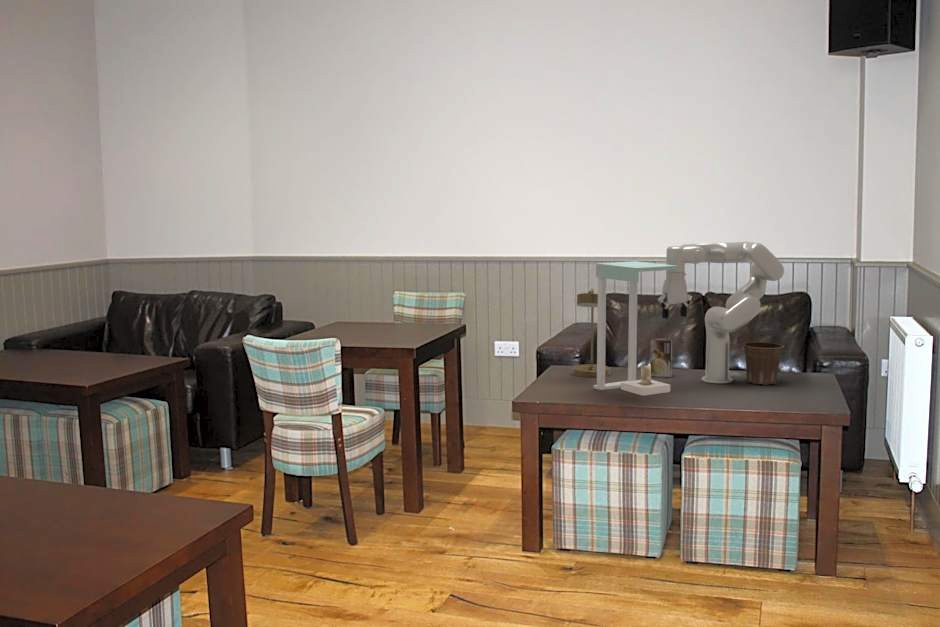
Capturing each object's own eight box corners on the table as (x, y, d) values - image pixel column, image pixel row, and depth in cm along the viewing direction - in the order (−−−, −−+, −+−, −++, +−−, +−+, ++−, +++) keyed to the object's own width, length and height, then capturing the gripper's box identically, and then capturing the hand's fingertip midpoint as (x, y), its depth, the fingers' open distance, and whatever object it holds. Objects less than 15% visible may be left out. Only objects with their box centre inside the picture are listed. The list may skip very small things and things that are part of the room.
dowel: (649, 389, 396) (650, 365, 394) (651, 391, 392) (652, 367, 391) (639, 389, 396) (640, 365, 394) (641, 391, 392) (642, 367, 390)
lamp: (567, 381, 414) (568, 292, 409) (573, 369, 440) (573, 286, 435) (608, 382, 410) (609, 293, 405) (611, 370, 437) (612, 286, 432)
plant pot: (777, 378, 416) (779, 341, 413) (786, 386, 400) (787, 348, 397) (738, 378, 417) (739, 341, 415) (745, 386, 401) (746, 347, 399)
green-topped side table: (631, 383, 409) (633, 261, 402) (674, 394, 386) (677, 265, 379) (593, 388, 400) (594, 263, 393) (634, 400, 376) (636, 268, 369)
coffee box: (672, 374, 426) (673, 338, 424) (671, 377, 420) (671, 340, 418) (651, 373, 429) (651, 337, 427) (649, 376, 423) (650, 340, 421)
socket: (647, 385, 403) (647, 378, 403) (670, 392, 391) (670, 384, 391) (620, 389, 396) (621, 382, 396) (642, 395, 384) (642, 388, 384)
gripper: (685, 274, 407) (684, 314, 409) (653, 276, 399) (652, 317, 401) (697, 275, 401) (696, 316, 403) (665, 278, 392) (664, 320, 395)
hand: (674, 317), depth 402 cm, fingers open, 9 cm apart
